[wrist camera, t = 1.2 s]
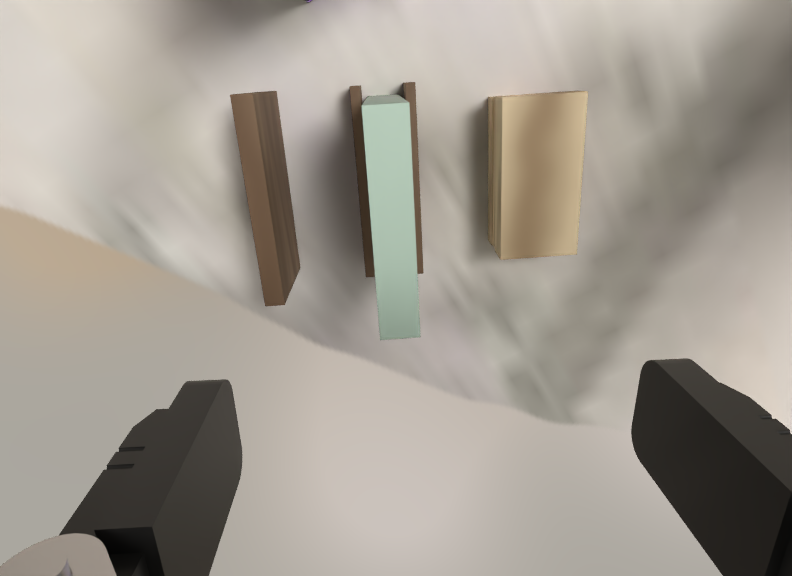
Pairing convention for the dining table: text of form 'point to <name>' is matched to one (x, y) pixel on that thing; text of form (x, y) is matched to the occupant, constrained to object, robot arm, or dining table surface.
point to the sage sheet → (392, 214)
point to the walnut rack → (272, 190)
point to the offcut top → (539, 173)
